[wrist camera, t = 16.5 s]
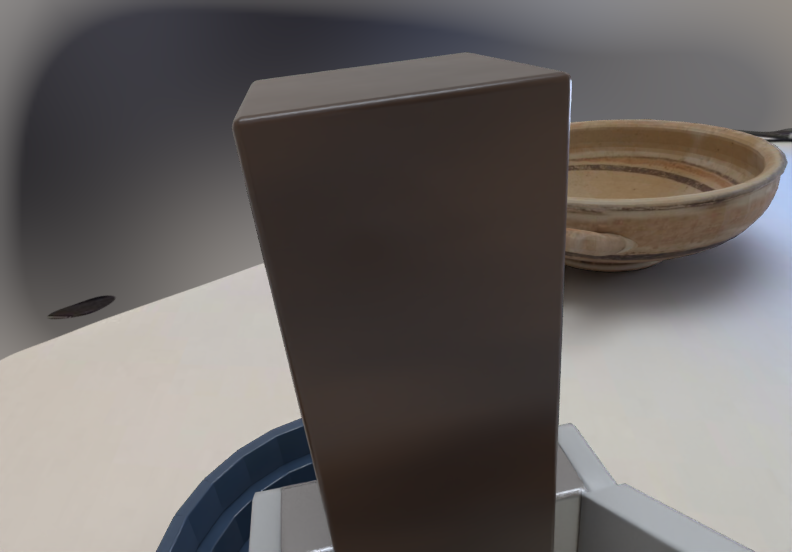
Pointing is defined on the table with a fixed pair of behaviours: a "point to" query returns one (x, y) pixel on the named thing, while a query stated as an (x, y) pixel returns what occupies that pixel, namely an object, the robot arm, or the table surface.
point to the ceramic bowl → (661, 190)
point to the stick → (419, 291)
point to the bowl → (239, 492)
